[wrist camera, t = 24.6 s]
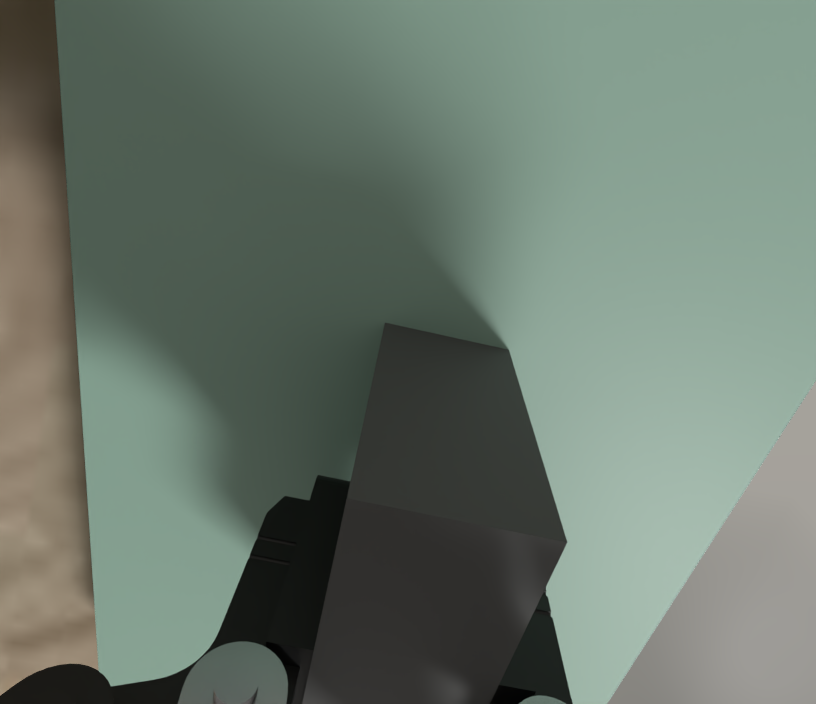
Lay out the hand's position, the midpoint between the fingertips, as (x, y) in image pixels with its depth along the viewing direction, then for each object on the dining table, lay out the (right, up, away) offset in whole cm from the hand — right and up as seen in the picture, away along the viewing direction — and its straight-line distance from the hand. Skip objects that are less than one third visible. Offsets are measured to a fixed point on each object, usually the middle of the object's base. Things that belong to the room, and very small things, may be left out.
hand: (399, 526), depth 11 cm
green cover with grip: (0, 0, +3) cm, 3 cm away
